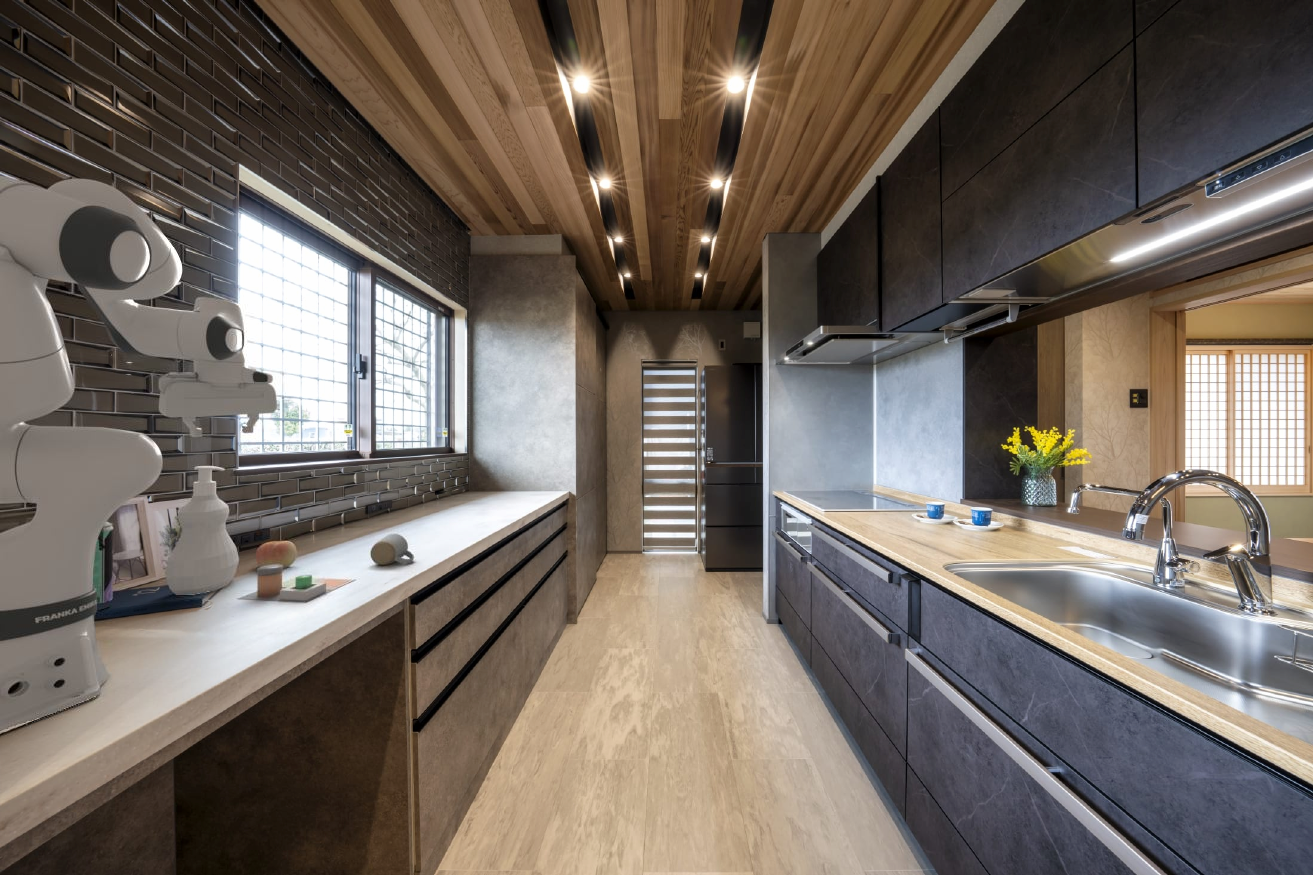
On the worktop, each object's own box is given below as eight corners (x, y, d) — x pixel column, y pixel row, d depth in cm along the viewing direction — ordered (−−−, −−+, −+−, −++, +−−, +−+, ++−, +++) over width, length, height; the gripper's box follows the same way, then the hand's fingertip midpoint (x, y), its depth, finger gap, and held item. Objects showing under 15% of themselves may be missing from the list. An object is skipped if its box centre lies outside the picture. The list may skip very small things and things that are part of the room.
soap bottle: (215, 602, 107) (216, 469, 106) (147, 607, 103) (149, 469, 102) (250, 579, 123) (252, 463, 122) (193, 582, 119) (194, 463, 118)
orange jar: (270, 597, 107) (271, 570, 107) (251, 596, 108) (251, 569, 108) (287, 590, 112) (288, 564, 112) (268, 589, 112) (269, 564, 112)
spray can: (120, 604, 104) (120, 512, 104) (87, 614, 99) (88, 516, 98) (97, 603, 105) (98, 510, 104) (64, 612, 99) (65, 515, 99)
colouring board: (306, 607, 105) (306, 593, 105) (236, 604, 106) (236, 589, 106) (356, 584, 121) (356, 571, 121) (295, 581, 122) (295, 568, 122)
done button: (304, 589, 108) (304, 579, 108) (291, 589, 108) (292, 578, 108) (315, 585, 111) (315, 575, 111) (302, 584, 111) (302, 574, 111)
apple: (255, 577, 125) (255, 546, 124) (255, 568, 131) (256, 539, 131) (297, 571, 130) (297, 542, 130) (295, 563, 137) (296, 535, 137)
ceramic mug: (367, 566, 136) (368, 539, 136) (381, 558, 145) (382, 533, 145) (406, 567, 137) (407, 540, 137) (418, 559, 146) (419, 534, 146)
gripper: (165, 373, 97) (168, 441, 99) (280, 375, 115) (281, 433, 117) (150, 370, 99) (153, 436, 101) (265, 372, 118) (266, 428, 120)
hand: (223, 434), depth 109 cm, fingers open, 8 cm apart
